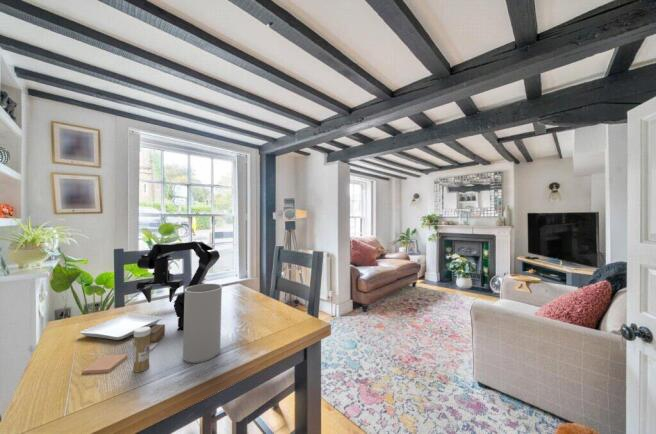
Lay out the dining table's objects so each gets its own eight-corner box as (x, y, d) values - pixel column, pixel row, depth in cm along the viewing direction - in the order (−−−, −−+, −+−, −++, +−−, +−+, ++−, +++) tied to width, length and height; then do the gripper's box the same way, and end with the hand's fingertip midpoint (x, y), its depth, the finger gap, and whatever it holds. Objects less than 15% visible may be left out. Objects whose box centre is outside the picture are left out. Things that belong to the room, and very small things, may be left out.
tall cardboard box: (167, 335, 107) (168, 324, 108) (151, 351, 95) (151, 338, 95) (152, 336, 107) (152, 324, 107) (133, 352, 94) (134, 339, 94)
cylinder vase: (195, 345, 99) (196, 283, 100) (225, 346, 99) (227, 284, 99) (174, 363, 87) (177, 292, 87) (209, 364, 86) (211, 292, 87)
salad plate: (119, 344, 100) (119, 336, 100) (77, 339, 104) (77, 331, 104) (163, 323, 120) (163, 316, 120) (127, 320, 124) (127, 313, 124)
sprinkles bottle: (145, 372, 82) (146, 331, 82) (129, 373, 80) (130, 332, 81) (152, 364, 86) (153, 325, 86) (137, 365, 85) (138, 326, 85)
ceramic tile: (127, 354, 90) (109, 369, 81) (127, 358, 90) (109, 373, 81) (103, 355, 89) (81, 370, 80) (103, 360, 89) (81, 375, 80)
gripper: (188, 266, 128) (187, 296, 128) (149, 266, 125) (148, 297, 125) (179, 270, 117) (178, 303, 117) (135, 271, 114) (134, 304, 114)
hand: (160, 302), depth 118 cm, fingers open, 9 cm apart
